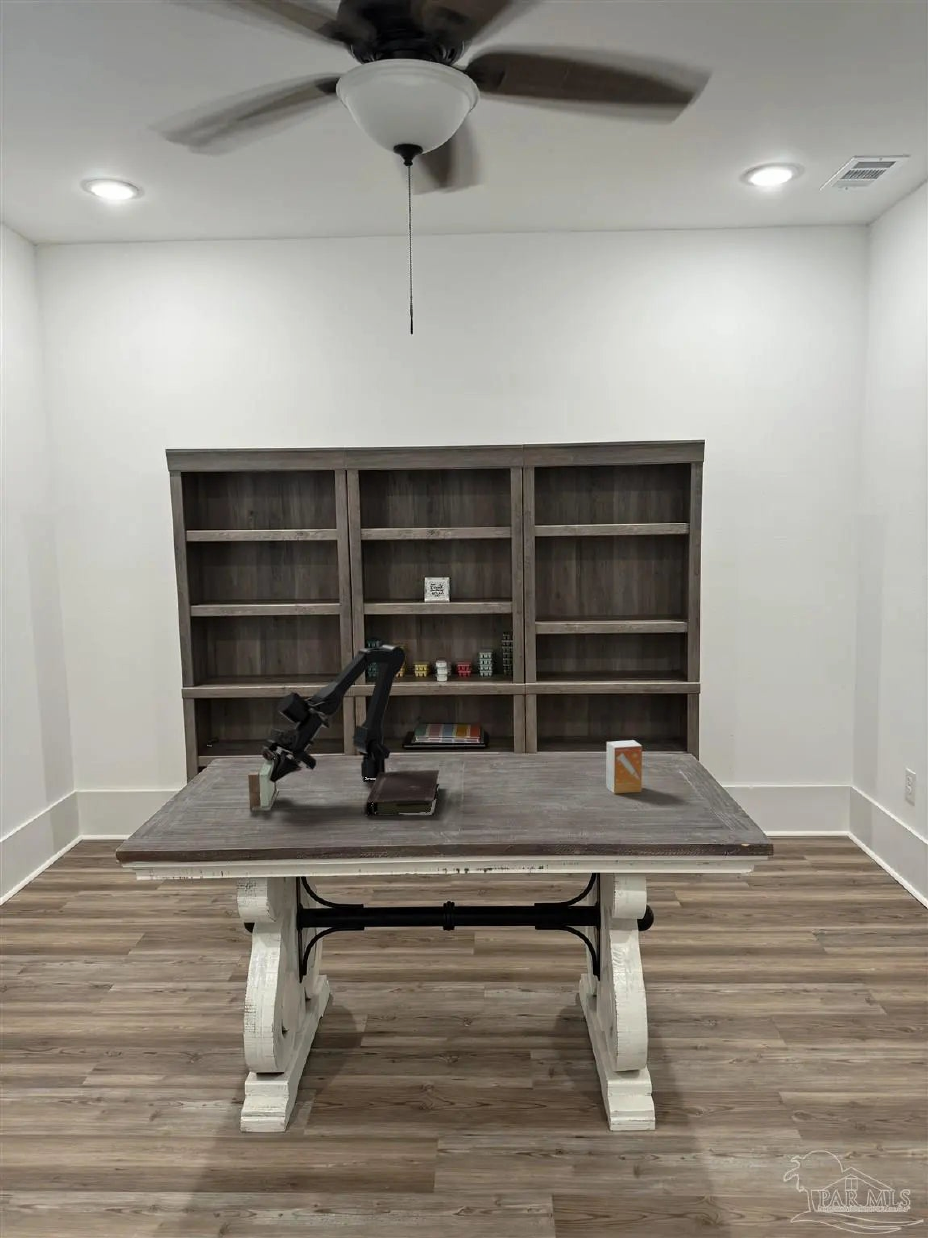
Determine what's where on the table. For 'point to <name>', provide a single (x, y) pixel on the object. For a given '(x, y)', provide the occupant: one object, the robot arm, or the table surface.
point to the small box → (624, 766)
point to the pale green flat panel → (266, 783)
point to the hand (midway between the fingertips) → (271, 781)
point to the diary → (403, 792)
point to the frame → (258, 793)
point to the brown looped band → (266, 756)
